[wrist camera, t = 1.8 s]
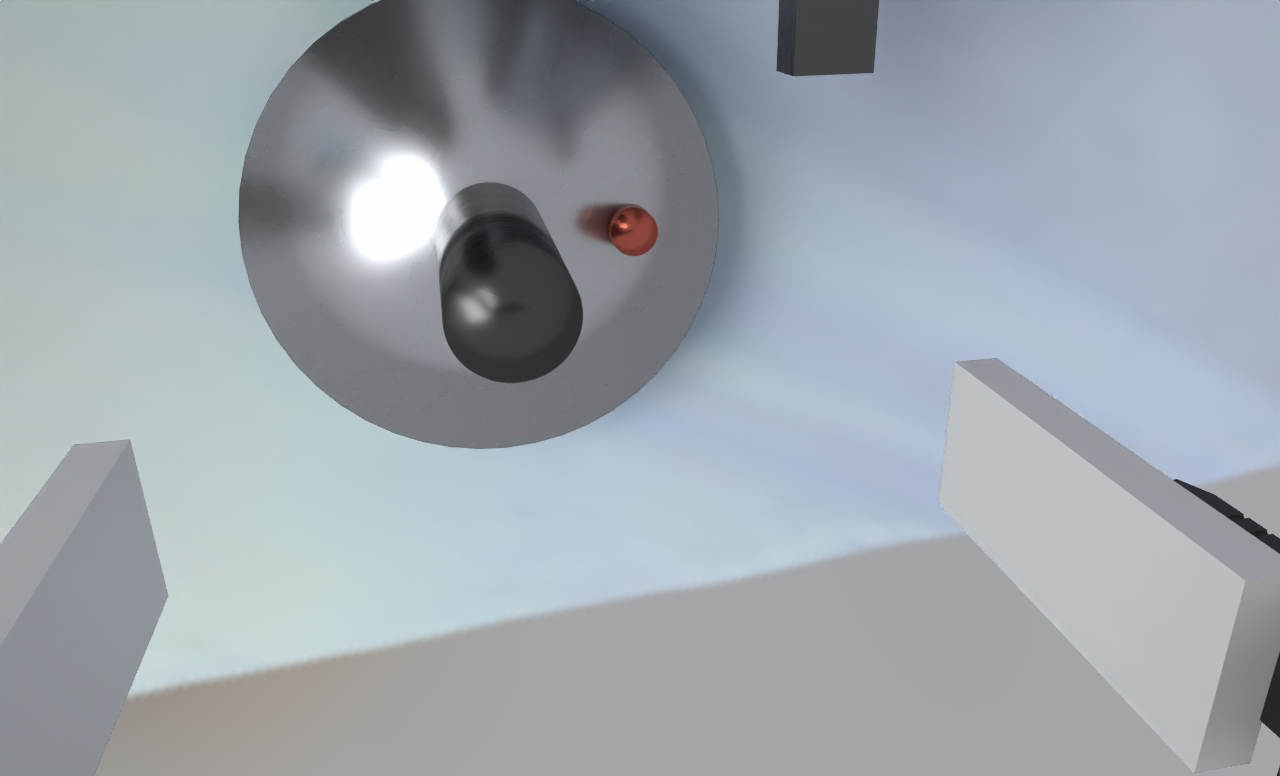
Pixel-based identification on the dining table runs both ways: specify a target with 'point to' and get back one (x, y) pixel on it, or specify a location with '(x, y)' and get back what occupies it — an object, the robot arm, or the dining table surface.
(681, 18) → the dining table surface
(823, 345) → the dining table surface
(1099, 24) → the dining table surface
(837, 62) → the pot
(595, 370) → the lid
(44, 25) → the dining table surface
